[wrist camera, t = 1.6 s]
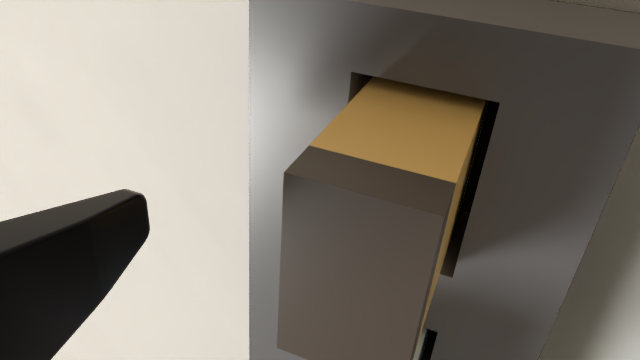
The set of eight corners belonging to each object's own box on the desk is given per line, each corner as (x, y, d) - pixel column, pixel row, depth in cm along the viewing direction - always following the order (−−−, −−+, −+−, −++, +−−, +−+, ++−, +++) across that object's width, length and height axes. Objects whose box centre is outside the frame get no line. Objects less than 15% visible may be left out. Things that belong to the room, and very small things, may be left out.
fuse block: (648, 15, 11) (670, 53, 9) (490, 414, 19) (479, 494, 16) (305, -37, 14) (249, -17, 11) (285, 337, 21) (249, 398, 19)
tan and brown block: (497, 67, 13) (444, 216, 7) (462, 201, 15) (401, 395, 10) (399, 49, 14) (283, 172, 8) (379, 179, 16) (276, 347, 10)
